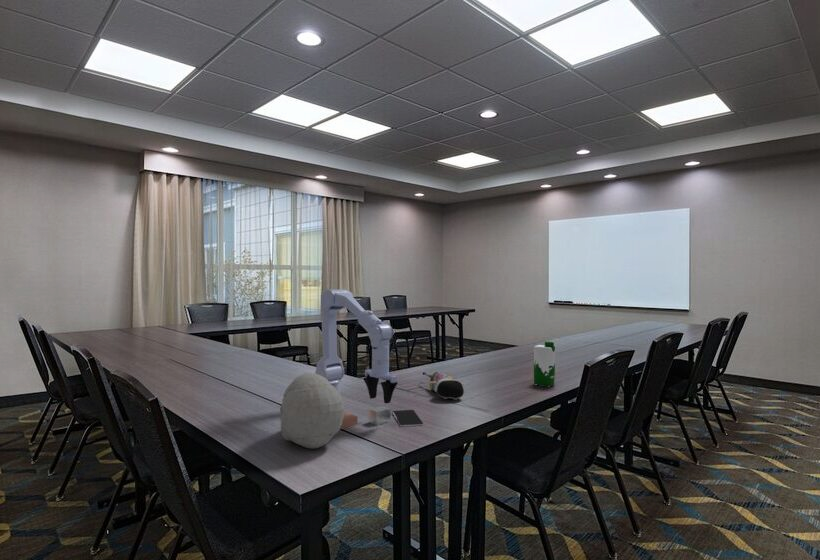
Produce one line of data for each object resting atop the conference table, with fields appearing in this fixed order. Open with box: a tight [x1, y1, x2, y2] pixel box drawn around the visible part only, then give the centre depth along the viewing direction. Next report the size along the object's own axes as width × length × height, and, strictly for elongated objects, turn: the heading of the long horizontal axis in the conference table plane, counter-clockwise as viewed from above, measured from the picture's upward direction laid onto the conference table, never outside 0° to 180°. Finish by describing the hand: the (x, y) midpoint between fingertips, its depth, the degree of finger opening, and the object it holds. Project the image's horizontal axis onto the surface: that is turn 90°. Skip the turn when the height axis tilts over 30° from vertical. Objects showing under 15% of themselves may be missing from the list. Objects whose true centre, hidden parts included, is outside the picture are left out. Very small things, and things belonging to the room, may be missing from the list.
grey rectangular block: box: [368, 405, 391, 426], centre depth 146 cm, size 4×6×4 cm, turn 133°
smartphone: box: [391, 409, 424, 428], centre depth 149 cm, size 8×1×15 cm
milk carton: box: [533, 341, 557, 387], centre depth 201 cm, size 9×9×20 cm
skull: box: [279, 372, 345, 450], centre depth 129 cm, size 17×27×20 cm, turn 28°
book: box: [340, 411, 358, 430], centre depth 145 cm, size 14×8×3 cm, turn 47°
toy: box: [419, 371, 472, 401], centre depth 185 cm, size 23×9×30 cm
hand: (380, 400), depth 146 cm, fingers open, 7 cm apart
